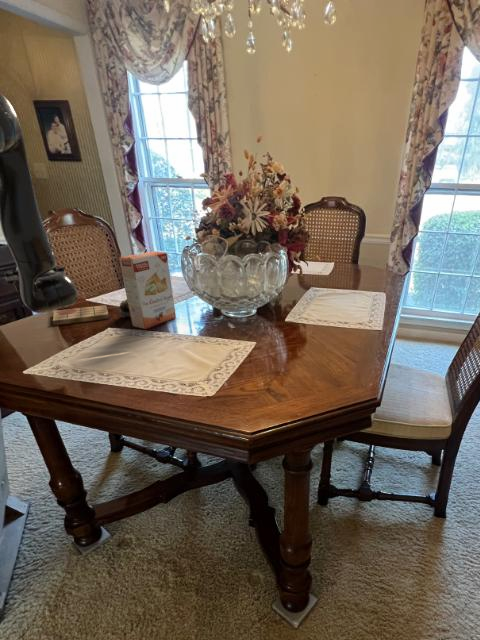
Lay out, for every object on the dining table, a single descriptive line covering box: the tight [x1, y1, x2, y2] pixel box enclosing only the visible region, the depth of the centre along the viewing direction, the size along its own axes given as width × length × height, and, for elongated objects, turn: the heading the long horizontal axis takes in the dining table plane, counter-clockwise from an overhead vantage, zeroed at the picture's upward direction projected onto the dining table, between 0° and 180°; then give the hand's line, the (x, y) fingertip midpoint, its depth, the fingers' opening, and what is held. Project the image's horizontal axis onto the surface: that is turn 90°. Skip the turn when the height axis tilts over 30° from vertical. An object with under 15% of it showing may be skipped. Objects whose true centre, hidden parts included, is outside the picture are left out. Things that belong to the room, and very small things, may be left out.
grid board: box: [52, 304, 110, 326], centre depth 127 cm, size 16×12×2 cm
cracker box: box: [118, 251, 177, 330], centre depth 117 cm, size 14×6×21 cm, turn 155°
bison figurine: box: [119, 298, 131, 318], centre depth 125 cm, size 12×7×10 cm, turn 76°
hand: (32, 269), depth 106 cm, fingers closed on black piece, 5 cm apart
